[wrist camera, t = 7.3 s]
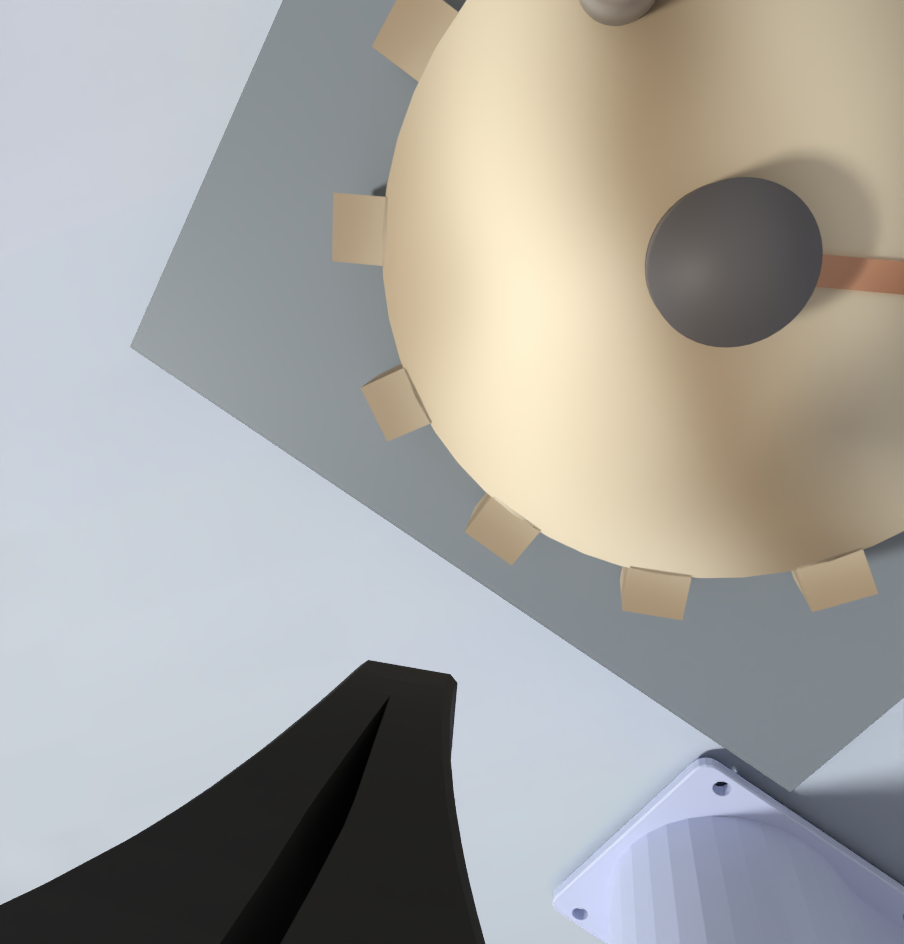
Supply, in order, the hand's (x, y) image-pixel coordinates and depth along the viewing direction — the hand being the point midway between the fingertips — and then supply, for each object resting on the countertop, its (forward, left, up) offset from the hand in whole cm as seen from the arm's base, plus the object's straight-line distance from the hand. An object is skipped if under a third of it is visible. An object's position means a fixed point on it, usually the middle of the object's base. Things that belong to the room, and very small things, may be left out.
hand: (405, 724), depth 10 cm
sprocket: (-1, -8, -9) cm, 12 cm away
